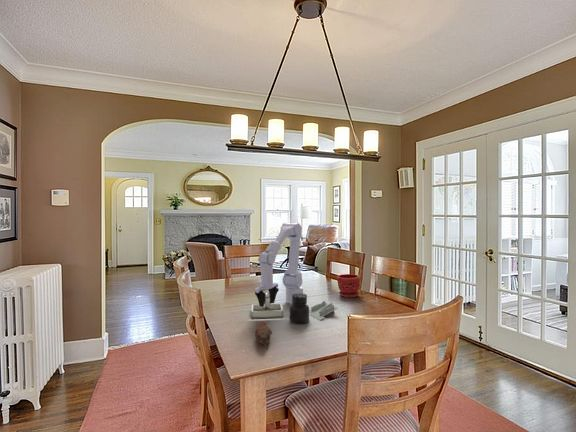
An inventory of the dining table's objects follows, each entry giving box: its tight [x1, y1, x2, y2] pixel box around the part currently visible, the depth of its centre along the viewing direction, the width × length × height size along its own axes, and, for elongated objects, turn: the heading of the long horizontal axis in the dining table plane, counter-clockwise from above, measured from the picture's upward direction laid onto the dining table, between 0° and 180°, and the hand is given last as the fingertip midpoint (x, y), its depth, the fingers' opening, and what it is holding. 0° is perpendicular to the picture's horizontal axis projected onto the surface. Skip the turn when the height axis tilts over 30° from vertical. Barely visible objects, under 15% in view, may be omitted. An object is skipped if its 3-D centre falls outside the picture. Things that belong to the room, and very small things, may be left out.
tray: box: [250, 302, 284, 320], centre depth 155 cm, size 15×12×4 cm
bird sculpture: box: [254, 320, 273, 349], centre depth 125 cm, size 7×25×5 cm, turn 8°
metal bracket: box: [309, 300, 339, 321], centre depth 156 cm, size 14×6×15 cm
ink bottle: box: [289, 293, 310, 325], centre depth 146 cm, size 10×9×12 cm
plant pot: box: [336, 273, 361, 298], centre depth 189 cm, size 13×13×12 cm
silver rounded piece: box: [261, 292, 272, 311], centre depth 156 cm, size 4×4×10 cm
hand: (267, 304), depth 155 cm, fingers open, 7 cm apart
